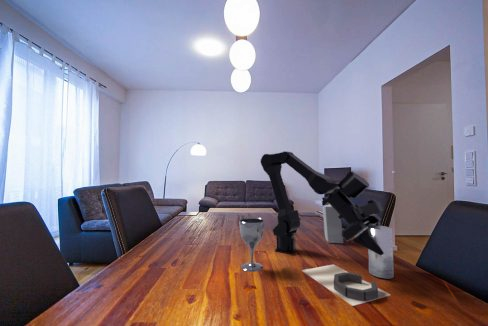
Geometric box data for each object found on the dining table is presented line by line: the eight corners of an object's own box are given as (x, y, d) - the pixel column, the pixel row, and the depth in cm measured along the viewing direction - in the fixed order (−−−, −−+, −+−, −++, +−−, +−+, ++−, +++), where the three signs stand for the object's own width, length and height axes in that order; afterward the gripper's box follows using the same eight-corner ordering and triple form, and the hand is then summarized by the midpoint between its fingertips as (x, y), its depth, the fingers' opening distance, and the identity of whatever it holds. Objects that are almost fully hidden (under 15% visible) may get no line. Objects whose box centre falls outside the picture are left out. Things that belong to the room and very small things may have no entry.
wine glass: (266, 263, 74) (266, 218, 75) (260, 273, 66) (260, 223, 67) (244, 260, 77) (244, 217, 77) (236, 270, 69) (235, 222, 70)
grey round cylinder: (374, 278, 60) (373, 230, 61) (365, 268, 66) (364, 224, 67) (398, 279, 60) (396, 230, 60) (386, 269, 66) (385, 225, 66)
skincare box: (343, 244, 93) (342, 206, 94) (325, 243, 95) (324, 206, 96) (339, 238, 102) (338, 203, 102) (322, 237, 103) (322, 203, 104)
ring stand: (301, 273, 66) (301, 263, 66) (333, 267, 70) (333, 257, 71) (352, 310, 49) (352, 296, 49) (391, 299, 53) (390, 286, 53)
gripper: (352, 193, 60) (402, 243, 52) (373, 189, 73) (416, 228, 65) (325, 217, 66) (366, 266, 57) (349, 210, 79) (385, 249, 70)
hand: (385, 251), depth 62 cm, fingers closed on grey round cylinder, 6 cm apart
